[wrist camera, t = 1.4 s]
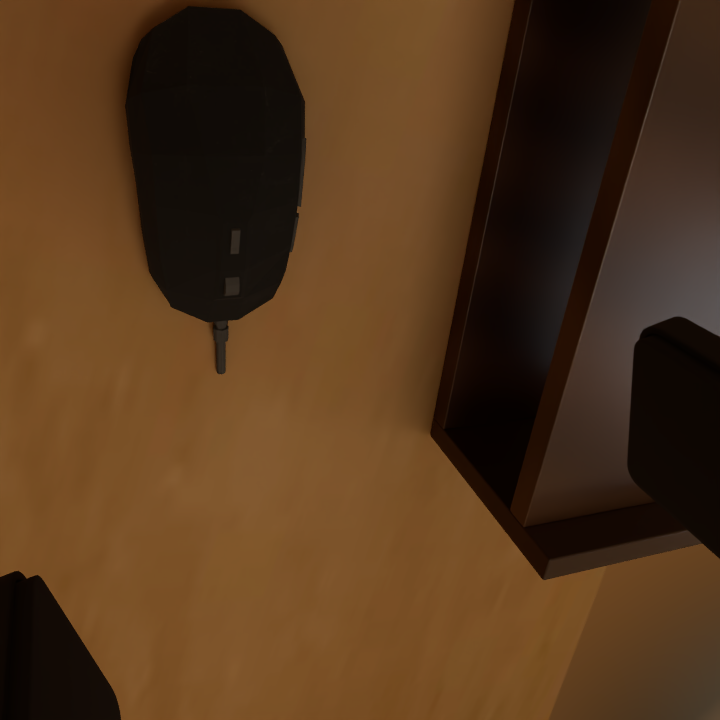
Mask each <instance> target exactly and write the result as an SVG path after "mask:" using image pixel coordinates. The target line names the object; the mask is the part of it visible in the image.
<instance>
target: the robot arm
mask: <svg viewBox="0 0 720 720" xmlns="http://www.w3.org/2000/svg"><path fill="white" fill-rule="evenodd" d="M627 468H628V471H629V474H630V476H631V478H632V480H633V481H634V483H635V484H636V485H637V486H638V487H639V488H641V489H642V490H643V491H644V492H645V493H646V494H647V495H648V496H650V497H651V498H652V499H653V500H654V501H655V502H656V503H657V504H659V505H660V506H661V507H662V508H663V509H664V510H665V511H666V512H668V513H669V514H670V515H671V516H672V517H673V518H674V519H676V520H677V521H678V522H679V523H680V524H681V525H682V526H683V527H685V528H686V529H687V530H688V531H689V532H690V533H691V534H692V535H694V536H695V537H696V538H697V539H698V540H699V541H700V542H701V543H703V544H704V545H705V546H706V547H707V548H708V549H709V550H711V551H712V552H713V553H714V554H715V555H716V556H717V557H719V558H720V337H719V336H717V335H715V334H713V333H712V332H710V331H708V330H706V329H704V328H703V327H701V326H699V325H697V324H695V323H694V322H692V321H690V320H688V319H686V318H683V317H681V316H677V317H672V318H670V319H667V320H665V321H662V322H659V323H657V324H654V325H652V326H649V327H647V328H645V329H643V331H642V332H641V334H640V338H639V340H638V341H637V342H636V343H635V345H634V352H633V369H632V387H631V404H630V421H629V438H628V456H627ZM0 720H121V716H120V710H119V705H118V702H117V698H116V696H115V693H114V691H113V689H112V687H111V686H110V684H109V683H108V681H107V679H106V678H105V676H104V675H103V673H102V672H101V670H100V669H99V667H98V665H97V664H96V662H95V661H94V659H93V658H92V656H91V654H90V653H89V651H88V650H87V648H86V647H85V645H84V643H83V642H82V640H81V639H80V637H79V636H78V634H77V632H76V631H75V629H74V628H73V626H72V625H71V623H70V621H69V620H68V618H67V617H66V615H65V614H64V612H63V611H62V609H61V607H60V606H59V604H58V603H57V601H56V600H55V598H54V596H53V595H52V593H51V592H50V590H49V589H48V587H47V585H46V584H45V582H44V581H43V580H42V578H41V577H40V576H38V575H35V576H33V577H30V578H28V579H26V577H25V576H24V575H23V574H22V573H21V572H19V571H15V572H12V573H10V574H7V575H4V576H2V577H0Z"/></svg>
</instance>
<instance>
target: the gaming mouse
mask: <svg viewBox="0 0 720 720" xmlns="http://www.w3.org/2000/svg"><path fill="white" fill-rule="evenodd" d="M125 108H126V117H127V126H128V136H129V145H130V151H131V157H132V163H133V169H134V174H135V180H136V187H137V195H138V203H139V211H140V220H141V228H142V234H143V240H144V245H145V250H146V256H147V261H148V267H149V272H150V274H151V276H152V278H153V279H154V281H155V282H156V284H157V285H158V287H159V288H160V290H161V291H162V293H163V294H164V296H165V297H166V299H167V300H168V302H169V303H170V306H171V307H172V308H174V309H177V310H179V311H182V312H184V313H186V314H189V315H191V316H194V317H196V318H198V319H201V320H203V321H205V322H214V324H215V325H214V327H213V337H214V340H215V341H216V346H217V373H218V374H224V373H225V342H226V341H227V340H228V326H227V323H228V320H239V319H240V318H242V317H243V316H245V315H247V314H248V313H250V312H251V311H253V310H255V309H256V308H258V307H259V306H261V305H263V304H264V303H266V302H267V301H269V300H271V299H272V298H273V296H274V294H275V293H276V291H277V289H278V287H279V285H280V283H281V281H282V278H283V276H284V273H285V271H286V266H287V262H288V257H289V252H292V249H293V245H294V240H295V234H296V229H297V224H298V218H299V213H297V206H300V207H301V200H302V188H303V177H304V165H305V152H306V138H305V101H304V98H303V96H302V94H301V91H300V89H299V86H298V84H297V81H296V79H295V76H294V74H293V71H292V69H291V66H290V64H289V61H288V59H287V57H286V54H285V52H284V49H283V47H282V45H281V43H280V42H279V41H278V39H277V38H276V36H275V35H274V34H273V33H271V32H270V31H269V30H267V29H266V28H265V27H263V26H262V25H261V24H259V23H258V22H256V21H255V20H254V19H252V18H251V17H250V16H248V15H247V14H246V13H244V12H243V11H242V10H237V9H222V8H208V7H193V6H188V7H186V8H185V9H183V10H182V11H180V12H178V13H177V14H175V15H174V16H172V17H170V18H169V19H167V20H166V21H164V22H162V23H161V24H159V25H158V26H156V27H154V28H153V29H152V30H151V31H150V32H149V33H148V34H146V35H145V36H144V37H143V38H142V39H141V41H140V44H139V46H138V48H137V50H136V52H135V55H134V57H133V61H132V67H131V73H130V79H129V85H128V92H127V98H126V104H125Z"/></svg>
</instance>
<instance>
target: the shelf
mask: <svg viewBox="0 0 720 720" xmlns="http://www.w3.org/2000/svg"><path fill="white" fill-rule="evenodd" d="M677 316H681V317H683V318H686V319H688V320H690V321H692V322H694V323H695V324H697V325H699V326H701V327H703V328H704V329H706V330H708V331H710V332H712V333H713V334H715V335H717V336H719V337H720V0H516V1H515V6H514V11H513V16H512V21H511V26H510V31H509V36H508V42H507V47H506V52H505V57H504V62H503V67H502V72H501V77H500V82H499V87H498V93H497V98H496V103H495V108H494V113H493V118H492V123H491V128H490V133H489V138H488V144H487V149H486V154H485V159H484V164H483V169H482V174H481V179H480V184H479V189H478V194H477V200H476V205H475V210H474V215H473V220H472V225H471V230H470V235H469V240H468V245H467V251H466V256H465V261H464V266H463V271H462V276H461V281H460V286H459V291H458V296H457V302H456V307H455V312H454V317H453V322H452V327H451V332H450V337H449V342H448V347H447V353H446V358H445V363H444V368H443V373H442V378H441V383H440V388H439V393H438V398H437V404H436V409H435V414H434V420H433V425H432V430H431V437H432V438H433V439H434V441H435V442H436V443H437V444H438V446H439V447H440V448H441V450H442V451H443V452H444V453H445V455H446V456H447V457H448V459H449V460H450V461H451V462H452V464H453V465H454V466H455V468H456V469H457V470H458V471H459V473H460V474H461V475H462V477H463V478H464V479H465V480H466V482H467V483H468V484H469V486H470V487H471V488H472V489H473V491H474V492H475V493H476V495H477V496H478V497H479V498H480V500H481V501H482V502H483V503H484V505H485V506H486V507H487V509H488V510H489V511H490V512H491V514H492V515H493V516H494V518H495V519H496V520H497V521H498V523H499V524H500V525H501V527H502V528H503V529H504V530H505V532H506V533H507V534H508V536H509V537H510V538H511V539H512V541H513V542H514V543H515V545H516V546H517V547H518V548H519V550H520V551H521V552H522V554H523V555H524V556H525V557H526V559H527V560H528V561H529V563H530V564H531V565H532V566H533V568H534V569H535V570H536V572H537V573H538V574H539V575H540V577H541V578H542V579H543V580H546V579H551V578H555V577H559V576H564V575H568V574H572V573H577V572H581V571H585V570H590V569H594V568H598V567H603V566H607V565H611V564H616V563H620V562H624V561H628V560H632V559H637V558H641V557H646V556H650V555H654V554H658V553H663V552H667V551H672V550H676V549H680V548H685V547H689V546H693V545H698V544H702V543H701V542H700V541H699V540H698V539H697V538H696V537H695V536H694V535H692V534H691V533H690V532H689V531H688V530H687V529H686V528H685V527H683V526H682V525H681V524H680V523H679V522H678V521H677V520H676V519H674V518H673V517H672V516H671V515H670V514H669V513H668V512H666V511H665V510H664V509H663V508H662V507H661V506H660V505H659V504H657V503H656V502H655V501H654V500H653V499H652V498H651V497H650V496H648V495H647V494H646V493H645V492H644V491H643V490H642V489H641V488H639V487H638V486H637V485H636V484H635V483H634V481H633V480H632V478H631V476H630V474H629V471H628V468H627V456H628V438H629V421H630V404H631V387H632V369H633V352H634V345H635V343H636V342H637V341H638V340H639V338H640V334H641V332H642V331H643V329H645V328H647V327H649V326H652V325H654V324H657V323H659V322H662V321H665V320H667V319H670V318H672V317H677Z"/></svg>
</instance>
